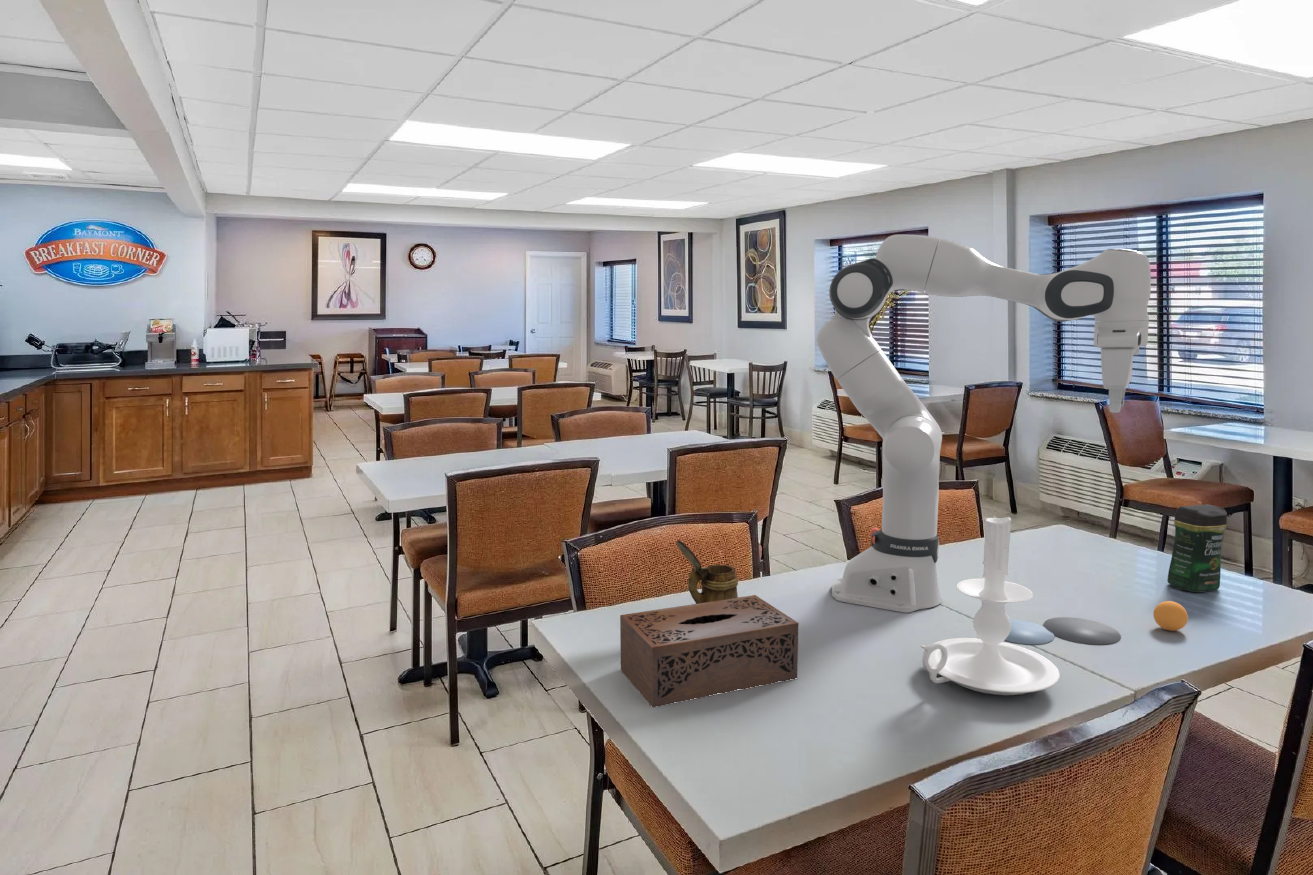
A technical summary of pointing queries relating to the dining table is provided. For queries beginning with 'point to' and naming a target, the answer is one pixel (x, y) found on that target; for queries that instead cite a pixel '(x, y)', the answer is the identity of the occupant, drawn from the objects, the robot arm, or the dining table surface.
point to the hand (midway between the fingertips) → (1116, 409)
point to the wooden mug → (710, 579)
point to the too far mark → (1028, 633)
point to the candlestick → (991, 632)
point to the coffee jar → (1197, 548)
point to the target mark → (1082, 630)
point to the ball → (1170, 615)
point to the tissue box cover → (707, 649)
